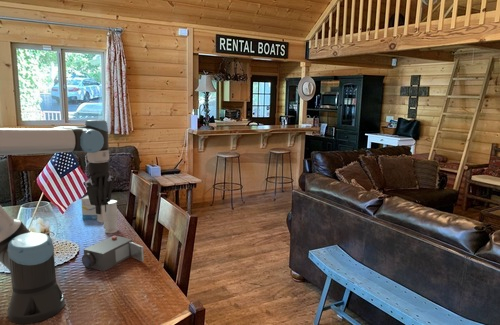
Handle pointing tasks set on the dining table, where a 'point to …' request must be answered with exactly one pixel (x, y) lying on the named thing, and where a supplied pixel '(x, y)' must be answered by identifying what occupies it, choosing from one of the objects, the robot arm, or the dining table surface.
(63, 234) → the dining table surface
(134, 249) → the side door
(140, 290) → the dining table surface
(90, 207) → the ink box
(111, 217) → the candle
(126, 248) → the camera body
